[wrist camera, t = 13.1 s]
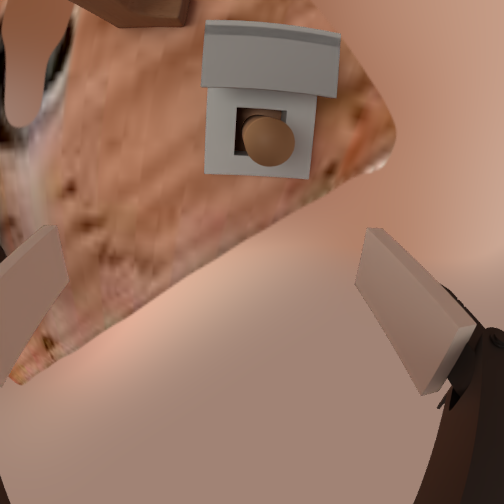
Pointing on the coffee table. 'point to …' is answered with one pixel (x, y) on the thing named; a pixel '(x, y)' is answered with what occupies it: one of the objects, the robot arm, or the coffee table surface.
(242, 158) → the socket block
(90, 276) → the coffee table surface
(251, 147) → the dowel
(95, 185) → the coffee table surface
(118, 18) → the wooden block
